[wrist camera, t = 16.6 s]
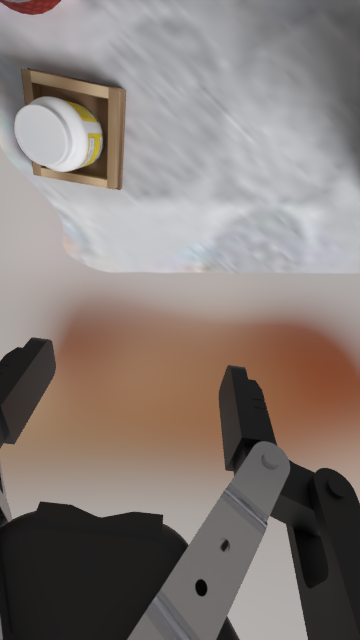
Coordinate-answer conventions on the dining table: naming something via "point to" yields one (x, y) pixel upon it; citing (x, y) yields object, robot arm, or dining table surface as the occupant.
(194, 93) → the dining table surface
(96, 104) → the wooden box
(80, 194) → the dining table surface
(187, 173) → the dining table surface
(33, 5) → the canned food
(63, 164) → the supplement bottle
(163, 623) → the robot arm
